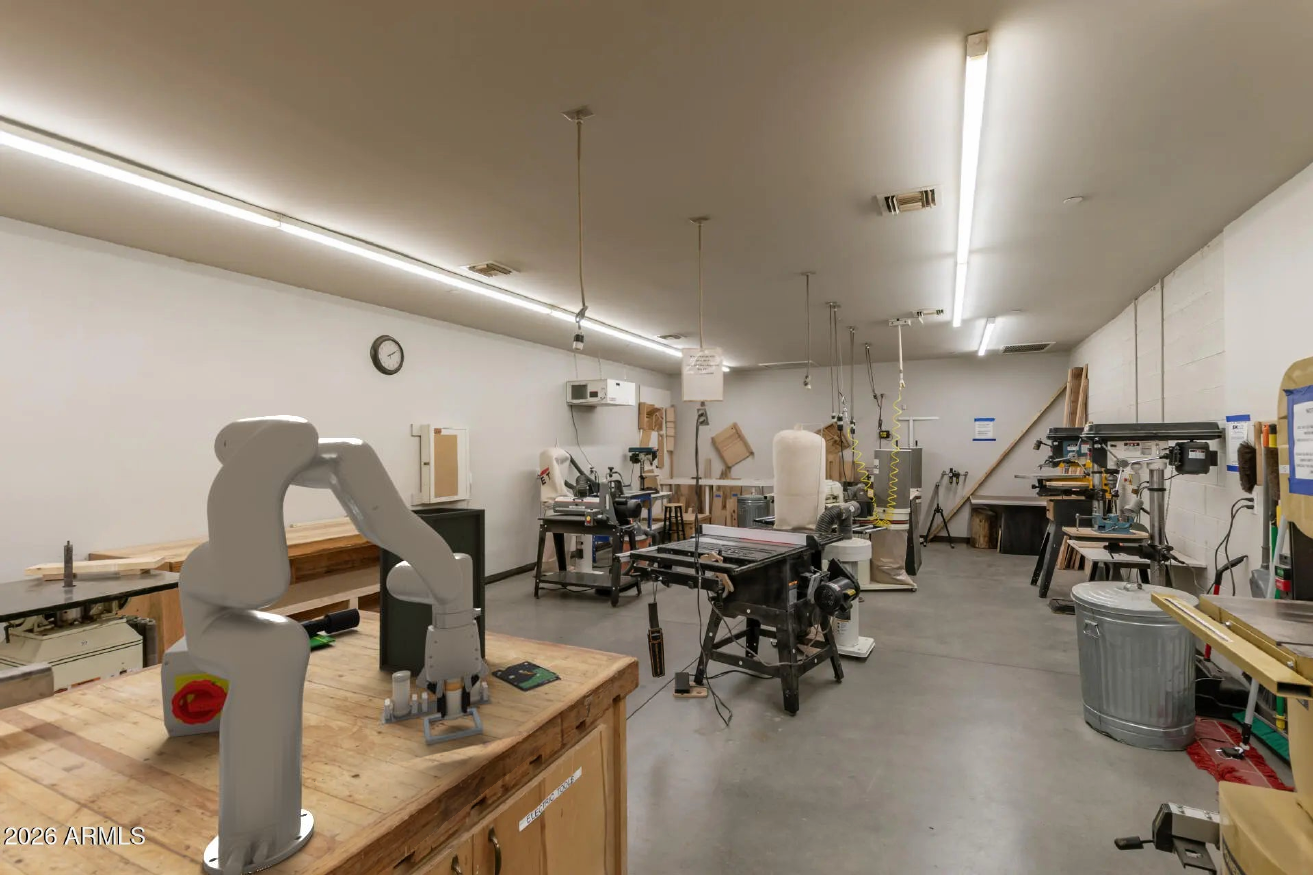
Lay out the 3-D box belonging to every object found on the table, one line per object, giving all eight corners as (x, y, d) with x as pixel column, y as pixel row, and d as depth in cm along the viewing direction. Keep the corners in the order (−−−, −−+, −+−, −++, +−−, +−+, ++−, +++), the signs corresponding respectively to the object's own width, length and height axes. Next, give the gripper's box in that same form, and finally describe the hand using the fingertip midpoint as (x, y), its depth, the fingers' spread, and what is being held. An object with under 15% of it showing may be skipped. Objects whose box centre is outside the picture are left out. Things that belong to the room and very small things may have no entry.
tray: (482, 740, 105) (482, 728, 105) (426, 752, 101) (426, 740, 101) (476, 718, 114) (476, 707, 115) (423, 729, 110) (423, 717, 110)
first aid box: (379, 668, 143) (380, 512, 144) (439, 647, 159) (439, 507, 160) (426, 682, 134) (427, 515, 135) (485, 657, 150) (484, 509, 151)
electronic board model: (262, 639, 147) (239, 630, 155) (261, 665, 146) (238, 654, 155) (373, 612, 171) (348, 605, 180) (373, 635, 171) (348, 627, 179)
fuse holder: (491, 709, 118) (491, 689, 118) (381, 731, 109) (381, 709, 109) (486, 697, 125) (486, 677, 125) (382, 717, 116) (382, 696, 116)
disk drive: (490, 683, 134) (524, 700, 124) (490, 671, 134) (524, 687, 124) (527, 671, 141) (562, 686, 131) (527, 660, 142) (562, 674, 131)
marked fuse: (462, 710, 110) (461, 670, 111) (463, 717, 107) (463, 676, 108) (443, 714, 109) (443, 673, 109) (445, 721, 106) (444, 679, 106)
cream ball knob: (481, 701, 119) (481, 663, 119) (465, 704, 118) (465, 666, 118) (479, 695, 122) (479, 658, 122) (463, 698, 121) (463, 661, 121)
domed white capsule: (410, 714, 113) (410, 675, 113) (391, 718, 112) (392, 678, 112) (410, 708, 116) (410, 669, 117) (392, 711, 115) (392, 672, 115)
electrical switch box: (149, 763, 103) (141, 661, 101) (192, 716, 117) (186, 625, 115) (241, 751, 107) (235, 652, 105) (272, 707, 121) (268, 619, 119)
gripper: (493, 607, 116) (494, 696, 115) (406, 619, 109) (407, 714, 108) (499, 616, 109) (500, 711, 108) (407, 629, 102) (407, 731, 101)
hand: (453, 711), depth 108 cm, fingers closed on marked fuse, 3 cm apart
